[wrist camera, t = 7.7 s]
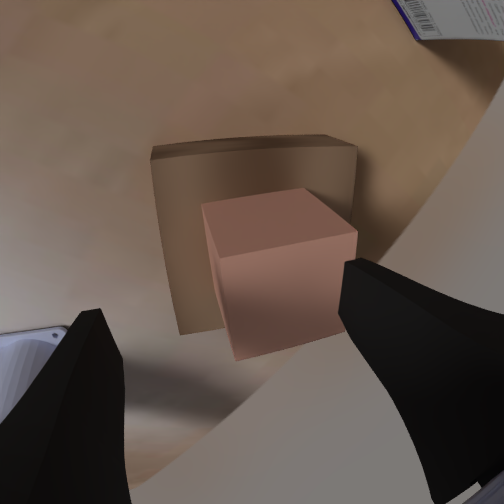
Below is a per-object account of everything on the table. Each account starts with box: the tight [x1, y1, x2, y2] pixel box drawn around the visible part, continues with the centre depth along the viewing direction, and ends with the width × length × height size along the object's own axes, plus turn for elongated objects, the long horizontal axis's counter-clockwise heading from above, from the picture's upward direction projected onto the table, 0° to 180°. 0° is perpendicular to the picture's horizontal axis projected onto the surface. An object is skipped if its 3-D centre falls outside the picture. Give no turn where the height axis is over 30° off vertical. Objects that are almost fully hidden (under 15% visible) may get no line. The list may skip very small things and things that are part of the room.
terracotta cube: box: [201, 188, 358, 361], centre depth 14 cm, size 5×5×5 cm
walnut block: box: [150, 135, 358, 335], centre depth 18 cm, size 10×10×4 cm
